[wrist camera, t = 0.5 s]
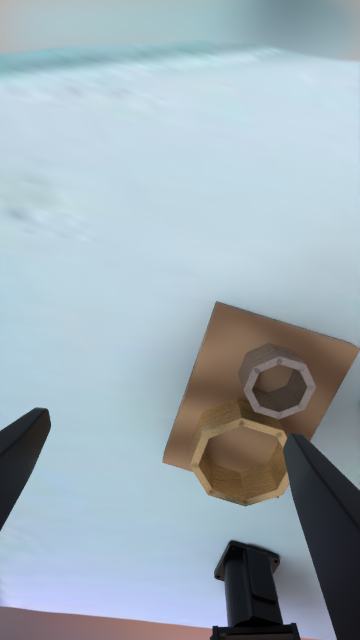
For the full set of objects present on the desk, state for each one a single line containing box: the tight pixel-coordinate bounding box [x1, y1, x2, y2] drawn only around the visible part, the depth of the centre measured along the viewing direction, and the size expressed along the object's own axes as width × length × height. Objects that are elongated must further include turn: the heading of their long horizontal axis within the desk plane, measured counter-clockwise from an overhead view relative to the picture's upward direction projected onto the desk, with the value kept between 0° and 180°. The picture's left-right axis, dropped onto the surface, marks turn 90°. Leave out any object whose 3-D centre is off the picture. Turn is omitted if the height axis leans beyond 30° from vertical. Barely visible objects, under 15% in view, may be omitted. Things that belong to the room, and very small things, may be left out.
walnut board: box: [162, 302, 360, 498], centre depth 24 cm, size 18×13×2 cm
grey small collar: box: [238, 343, 316, 419], centre depth 21 cm, size 5×5×3 cm
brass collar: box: [190, 398, 290, 506], centre depth 23 cm, size 9×9×3 cm
